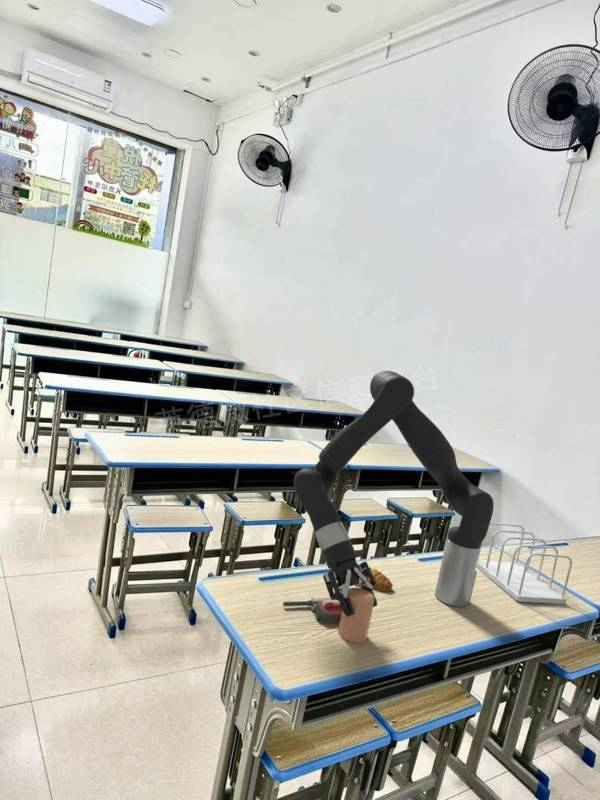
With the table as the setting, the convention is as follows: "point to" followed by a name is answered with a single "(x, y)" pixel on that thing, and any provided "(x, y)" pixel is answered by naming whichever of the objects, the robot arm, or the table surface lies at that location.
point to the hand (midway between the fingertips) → (362, 611)
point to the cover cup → (357, 616)
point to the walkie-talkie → (322, 609)
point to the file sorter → (522, 572)
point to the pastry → (380, 581)
